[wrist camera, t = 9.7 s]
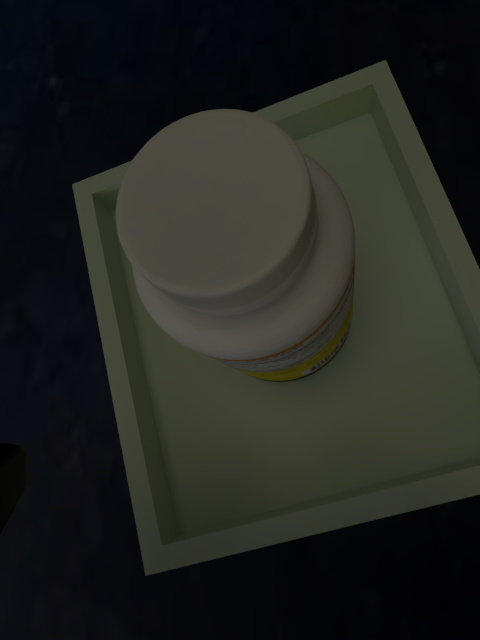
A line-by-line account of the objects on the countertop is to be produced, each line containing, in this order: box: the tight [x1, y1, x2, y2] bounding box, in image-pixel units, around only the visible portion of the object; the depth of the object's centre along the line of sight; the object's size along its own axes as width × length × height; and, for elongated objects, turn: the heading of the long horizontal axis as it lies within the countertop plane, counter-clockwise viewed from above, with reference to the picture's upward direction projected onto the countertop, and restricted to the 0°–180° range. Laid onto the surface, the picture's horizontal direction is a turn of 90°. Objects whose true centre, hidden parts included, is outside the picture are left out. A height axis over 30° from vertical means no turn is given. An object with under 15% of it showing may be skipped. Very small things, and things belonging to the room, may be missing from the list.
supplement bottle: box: [116, 109, 355, 382], centre depth 14 cm, size 6×6×10 cm
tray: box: [72, 60, 480, 576], centre depth 18 cm, size 16×14×2 cm
